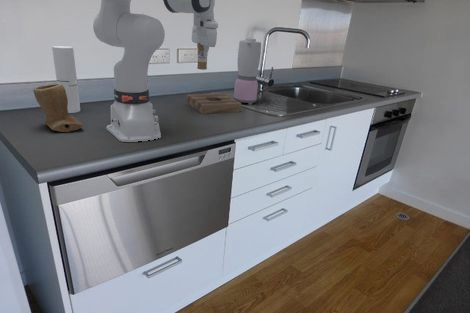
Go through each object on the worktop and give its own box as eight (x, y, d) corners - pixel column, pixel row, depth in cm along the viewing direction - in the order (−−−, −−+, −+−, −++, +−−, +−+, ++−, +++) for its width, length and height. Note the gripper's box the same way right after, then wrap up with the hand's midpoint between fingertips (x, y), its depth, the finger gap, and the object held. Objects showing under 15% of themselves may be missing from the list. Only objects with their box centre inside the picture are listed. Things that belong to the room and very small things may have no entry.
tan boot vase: (37, 123, 114) (29, 81, 108) (72, 119, 121) (67, 79, 115) (45, 136, 103) (37, 90, 97) (84, 131, 110) (79, 88, 104)
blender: (255, 106, 163) (262, 40, 150) (232, 103, 163) (237, 37, 151) (256, 99, 177) (263, 38, 165) (235, 97, 178) (240, 36, 165)
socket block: (241, 111, 151) (241, 103, 149) (201, 113, 142) (202, 105, 140) (223, 101, 167) (223, 93, 165) (187, 102, 158) (187, 94, 156)
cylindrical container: (61, 108, 132) (52, 45, 122) (80, 108, 135) (73, 46, 125) (60, 113, 126) (51, 47, 116) (80, 112, 129) (73, 48, 119)
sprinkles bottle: (198, 69, 144) (199, 38, 138) (196, 68, 148) (197, 37, 142) (208, 70, 145) (209, 39, 140) (205, 68, 149) (206, 37, 144)
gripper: (188, 20, 145) (188, 52, 151) (206, 23, 129) (204, 58, 135) (201, 21, 148) (200, 52, 154) (220, 24, 132) (218, 58, 137)
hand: (202, 55), depth 144 cm, fingers closed on sprinkles bottle, 4 cm apart
